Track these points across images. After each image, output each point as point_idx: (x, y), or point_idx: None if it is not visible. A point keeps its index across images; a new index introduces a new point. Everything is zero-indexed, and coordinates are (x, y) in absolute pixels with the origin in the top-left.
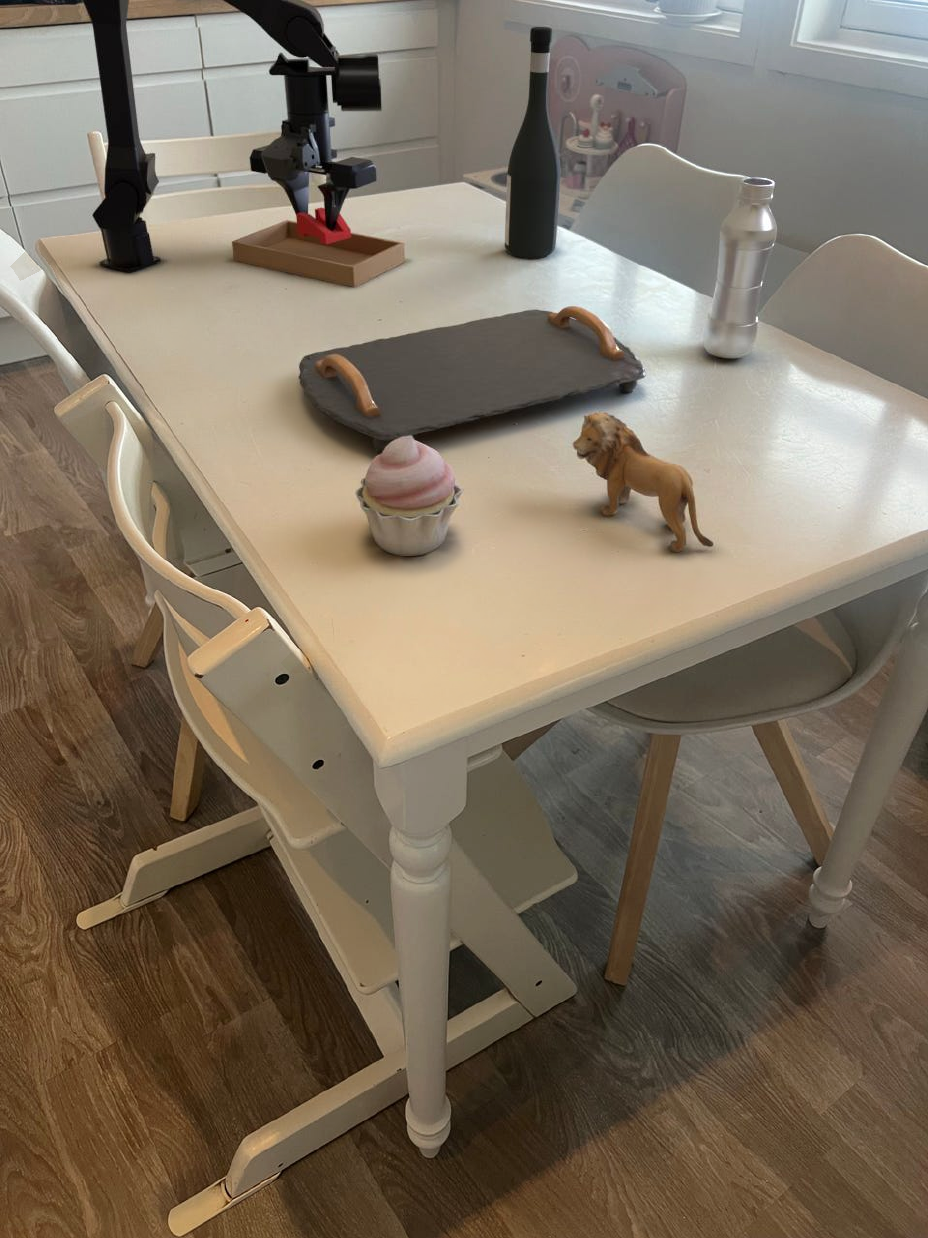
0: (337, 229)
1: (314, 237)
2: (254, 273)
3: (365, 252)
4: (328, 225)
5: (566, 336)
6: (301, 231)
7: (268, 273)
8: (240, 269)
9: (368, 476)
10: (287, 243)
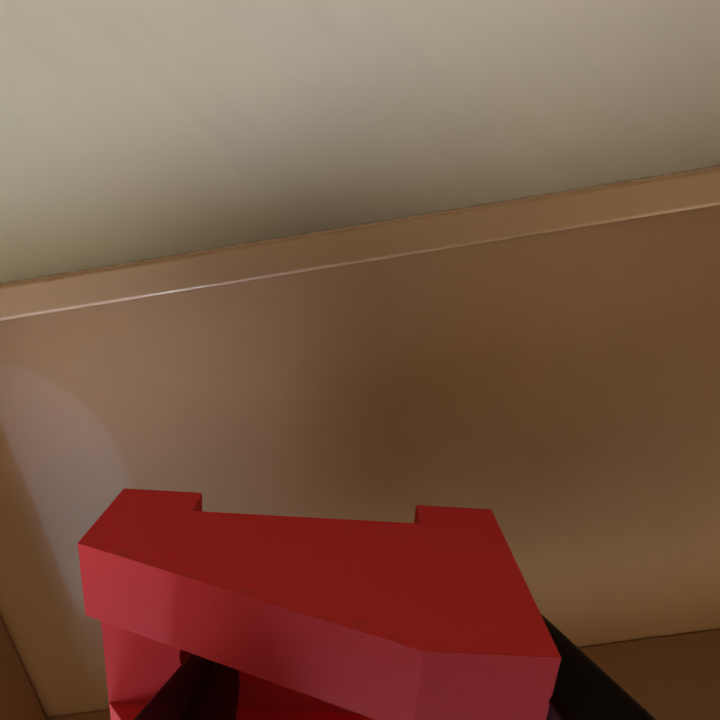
0: None
1: None
2: (516, 51)
3: None
4: (172, 679)
5: None
6: (447, 529)
7: (439, 122)
8: (657, 42)
9: None
10: (702, 556)
